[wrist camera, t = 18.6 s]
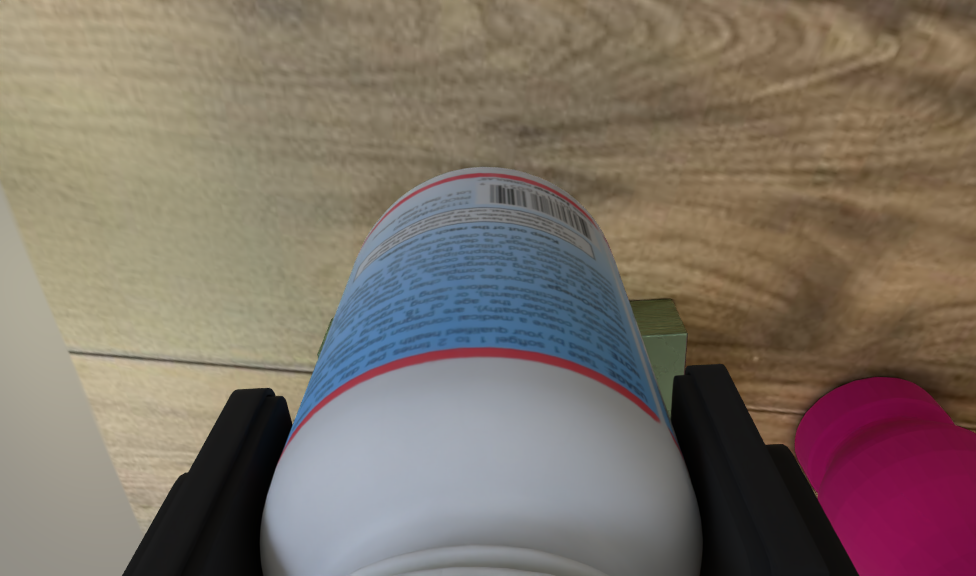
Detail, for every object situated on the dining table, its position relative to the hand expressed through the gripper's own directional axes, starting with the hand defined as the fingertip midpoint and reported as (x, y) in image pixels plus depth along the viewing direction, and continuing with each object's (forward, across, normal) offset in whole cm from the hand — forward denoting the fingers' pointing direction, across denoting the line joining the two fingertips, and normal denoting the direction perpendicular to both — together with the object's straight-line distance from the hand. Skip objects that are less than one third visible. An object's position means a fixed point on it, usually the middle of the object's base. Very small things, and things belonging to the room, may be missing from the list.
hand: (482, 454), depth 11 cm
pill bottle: (+6, 0, 0) cm, 6 cm away
